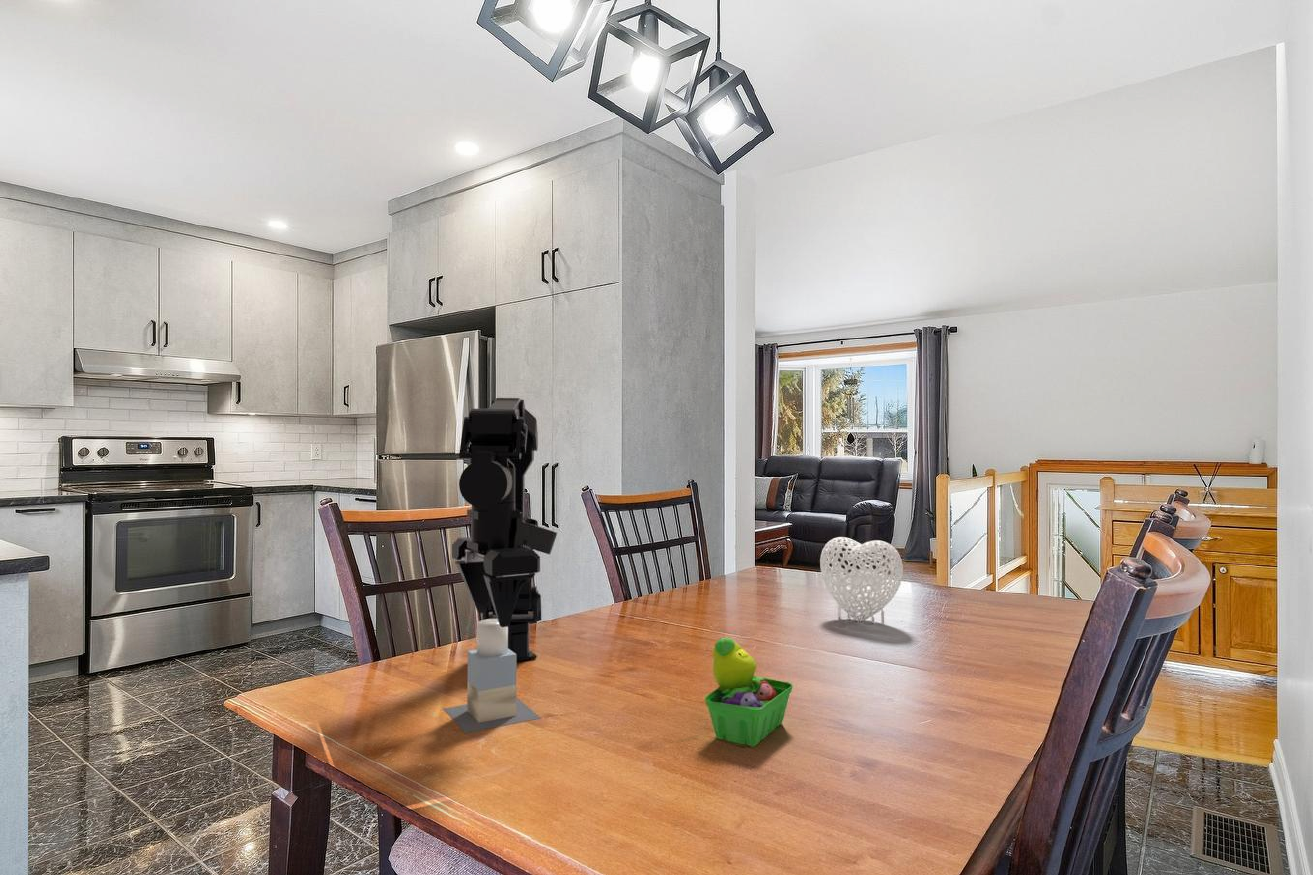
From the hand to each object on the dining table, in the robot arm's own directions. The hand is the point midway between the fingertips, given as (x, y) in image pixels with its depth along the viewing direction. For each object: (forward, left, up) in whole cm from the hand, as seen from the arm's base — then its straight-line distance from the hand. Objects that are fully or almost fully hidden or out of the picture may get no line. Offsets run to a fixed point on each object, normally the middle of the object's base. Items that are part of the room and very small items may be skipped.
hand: (492, 619), depth 96 cm
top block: (0, 0, -8) cm, 8 cm away
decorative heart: (-13, +83, -13) cm, 85 cm away
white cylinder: (0, 0, -4) cm, 4 cm away
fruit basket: (+21, +26, -13) cm, 36 cm away
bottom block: (0, 0, -12) cm, 12 cm away
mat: (0, 0, -13) cm, 13 cm away
